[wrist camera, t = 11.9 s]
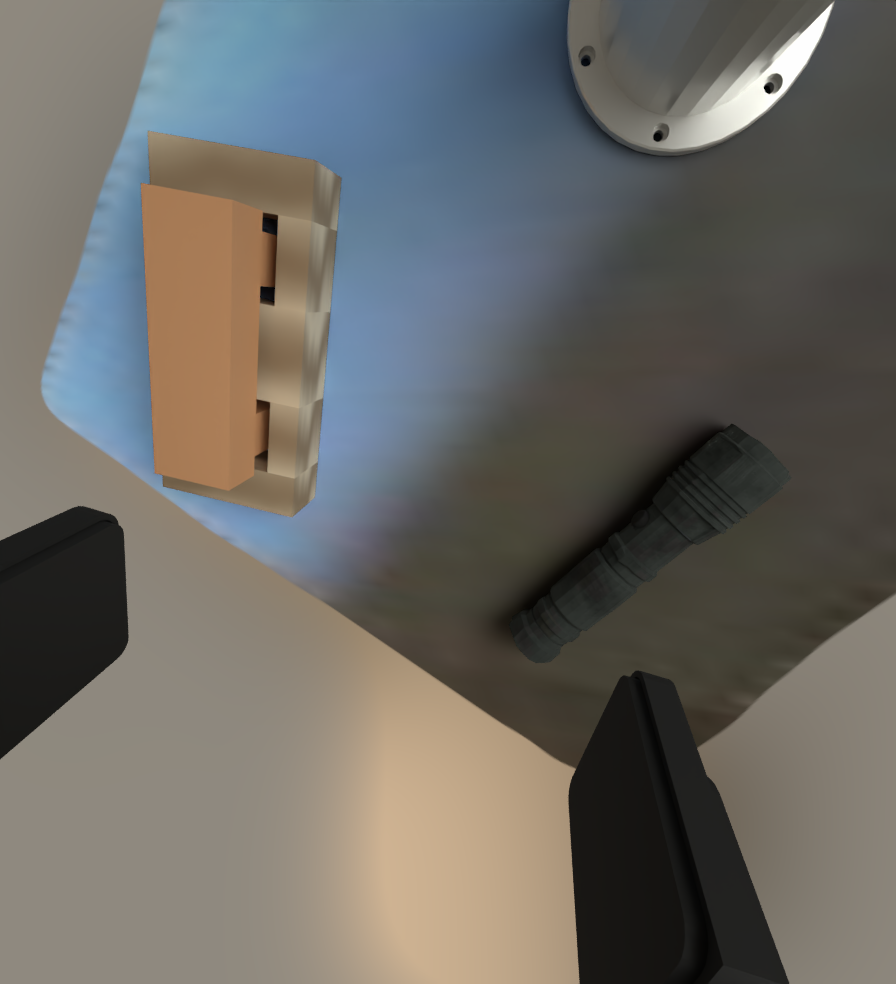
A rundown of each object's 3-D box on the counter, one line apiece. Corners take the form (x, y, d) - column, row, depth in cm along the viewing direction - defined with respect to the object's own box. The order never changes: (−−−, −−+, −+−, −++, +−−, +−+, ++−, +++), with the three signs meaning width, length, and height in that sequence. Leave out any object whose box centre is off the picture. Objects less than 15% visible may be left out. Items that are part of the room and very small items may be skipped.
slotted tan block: (192, 151, 32) (147, 130, 28) (341, 177, 31) (315, 160, 27) (197, 469, 40) (162, 486, 36) (314, 497, 39) (292, 517, 35)
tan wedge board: (229, 211, 32) (140, 182, 25) (301, 224, 32) (232, 200, 25) (227, 441, 38) (154, 473, 31) (287, 455, 38) (228, 490, 31)
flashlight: (771, 463, 33) (811, 488, 28) (551, 640, 40) (553, 683, 36) (720, 414, 32) (751, 431, 28) (506, 603, 40) (503, 642, 35)
